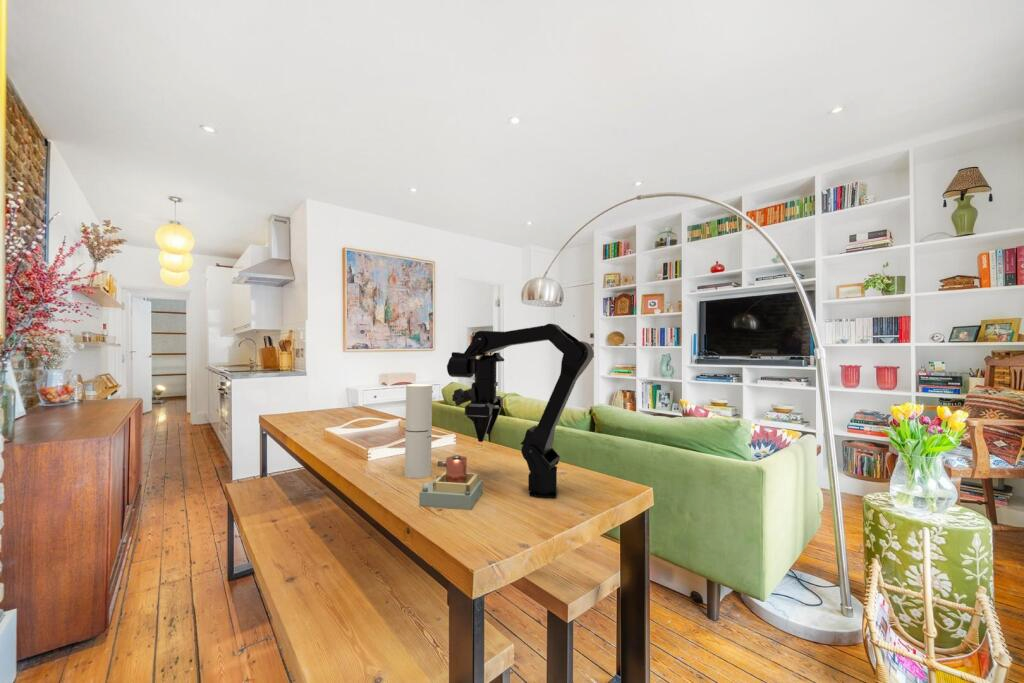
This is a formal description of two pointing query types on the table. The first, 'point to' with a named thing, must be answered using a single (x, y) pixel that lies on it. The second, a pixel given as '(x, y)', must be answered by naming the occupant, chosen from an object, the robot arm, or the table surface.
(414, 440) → the cylindrical container
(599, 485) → the table surface
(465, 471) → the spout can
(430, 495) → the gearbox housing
